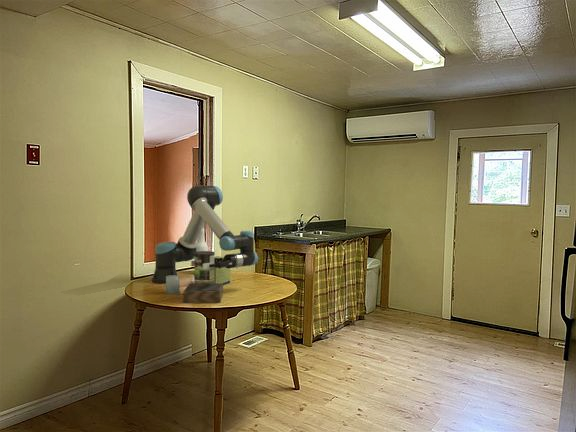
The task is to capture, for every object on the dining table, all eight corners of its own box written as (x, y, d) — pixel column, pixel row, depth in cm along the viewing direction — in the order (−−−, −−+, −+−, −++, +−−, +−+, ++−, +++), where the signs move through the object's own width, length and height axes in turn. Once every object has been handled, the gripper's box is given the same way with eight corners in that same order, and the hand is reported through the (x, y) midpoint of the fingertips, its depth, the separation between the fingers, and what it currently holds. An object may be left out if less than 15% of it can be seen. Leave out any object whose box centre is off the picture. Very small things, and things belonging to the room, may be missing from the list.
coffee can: (200, 282, 211) (200, 254, 210) (190, 279, 218) (190, 252, 218) (218, 280, 218) (218, 252, 217) (207, 277, 225) (207, 250, 224)
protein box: (230, 282, 257) (231, 257, 257) (215, 287, 243) (216, 260, 243) (216, 281, 262) (216, 255, 261) (200, 285, 248) (201, 259, 247)
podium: (183, 302, 209) (183, 290, 209) (188, 294, 227) (188, 283, 226) (220, 302, 210) (220, 290, 210) (223, 294, 228) (223, 283, 228)
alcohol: (195, 272, 290) (195, 227, 288) (208, 272, 290) (208, 228, 289) (193, 274, 281) (193, 229, 279) (206, 274, 281) (207, 229, 280)
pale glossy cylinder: (164, 294, 225) (164, 277, 225) (167, 291, 232) (167, 275, 232) (178, 294, 226) (178, 277, 225) (180, 291, 233) (180, 275, 232)
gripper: (245, 270, 222) (209, 275, 207) (220, 265, 238) (185, 269, 223) (246, 256, 222) (210, 260, 206) (220, 251, 238) (185, 255, 222)
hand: (197, 265), depth 215 cm, fingers closed on coffee can, 10 cm apart
